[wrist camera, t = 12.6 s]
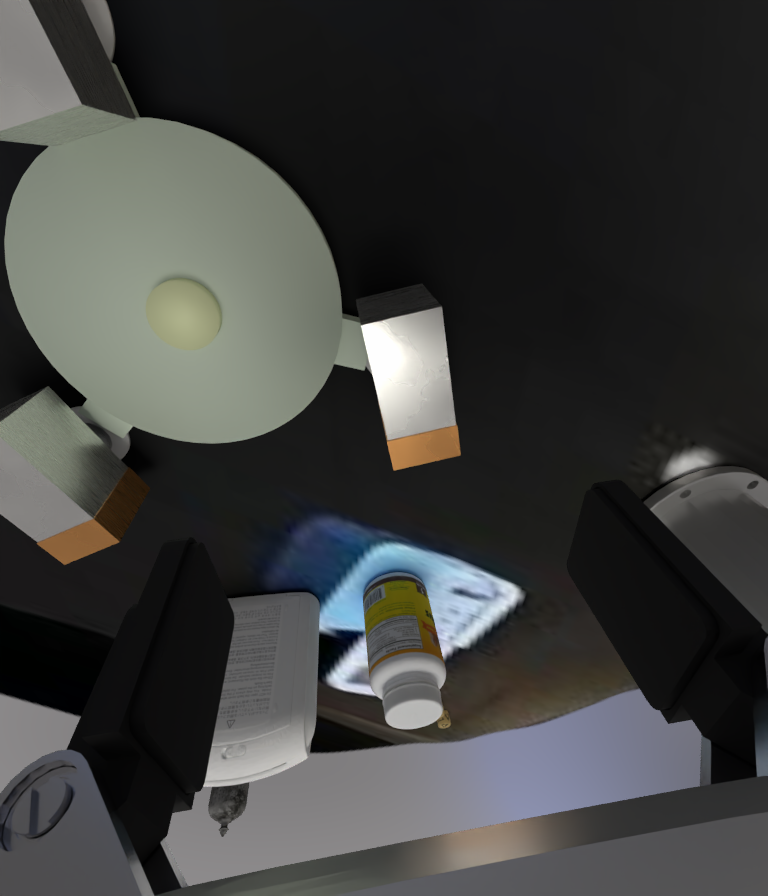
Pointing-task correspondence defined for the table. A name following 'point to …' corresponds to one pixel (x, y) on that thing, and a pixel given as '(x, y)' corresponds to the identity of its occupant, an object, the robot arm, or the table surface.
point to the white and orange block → (411, 374)
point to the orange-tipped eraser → (55, 75)
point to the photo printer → (267, 689)
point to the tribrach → (175, 280)
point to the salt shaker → (227, 804)
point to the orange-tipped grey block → (63, 478)
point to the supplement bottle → (403, 650)
